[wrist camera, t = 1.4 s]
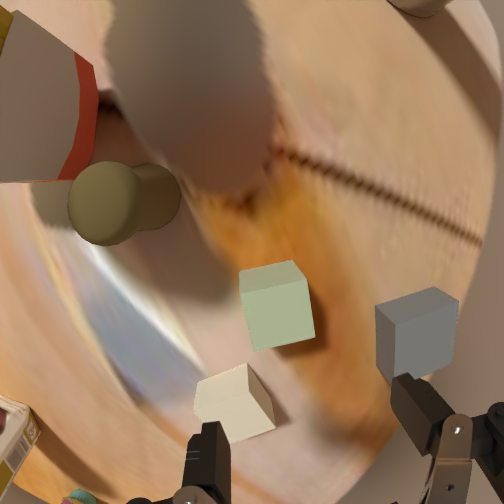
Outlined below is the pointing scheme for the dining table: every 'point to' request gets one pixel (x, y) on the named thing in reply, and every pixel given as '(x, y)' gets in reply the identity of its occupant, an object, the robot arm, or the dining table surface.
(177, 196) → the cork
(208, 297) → the dining table surface
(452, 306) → the slate block
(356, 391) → the dining table surface
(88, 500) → the cupcake
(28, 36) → the french fries container
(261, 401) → the cream block
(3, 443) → the juice carton
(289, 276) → the sage block
